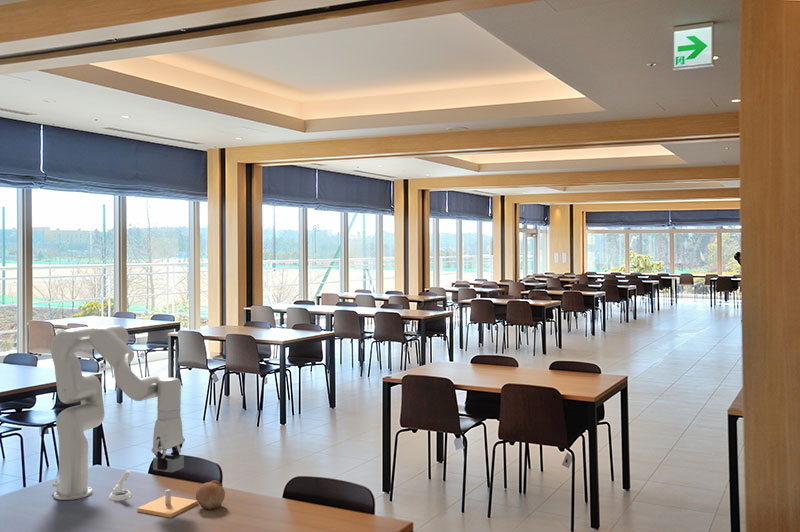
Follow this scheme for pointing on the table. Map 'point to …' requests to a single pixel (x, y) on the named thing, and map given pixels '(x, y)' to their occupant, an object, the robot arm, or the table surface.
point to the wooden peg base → (167, 505)
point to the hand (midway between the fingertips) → (168, 466)
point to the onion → (210, 494)
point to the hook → (121, 489)
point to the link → (171, 463)
